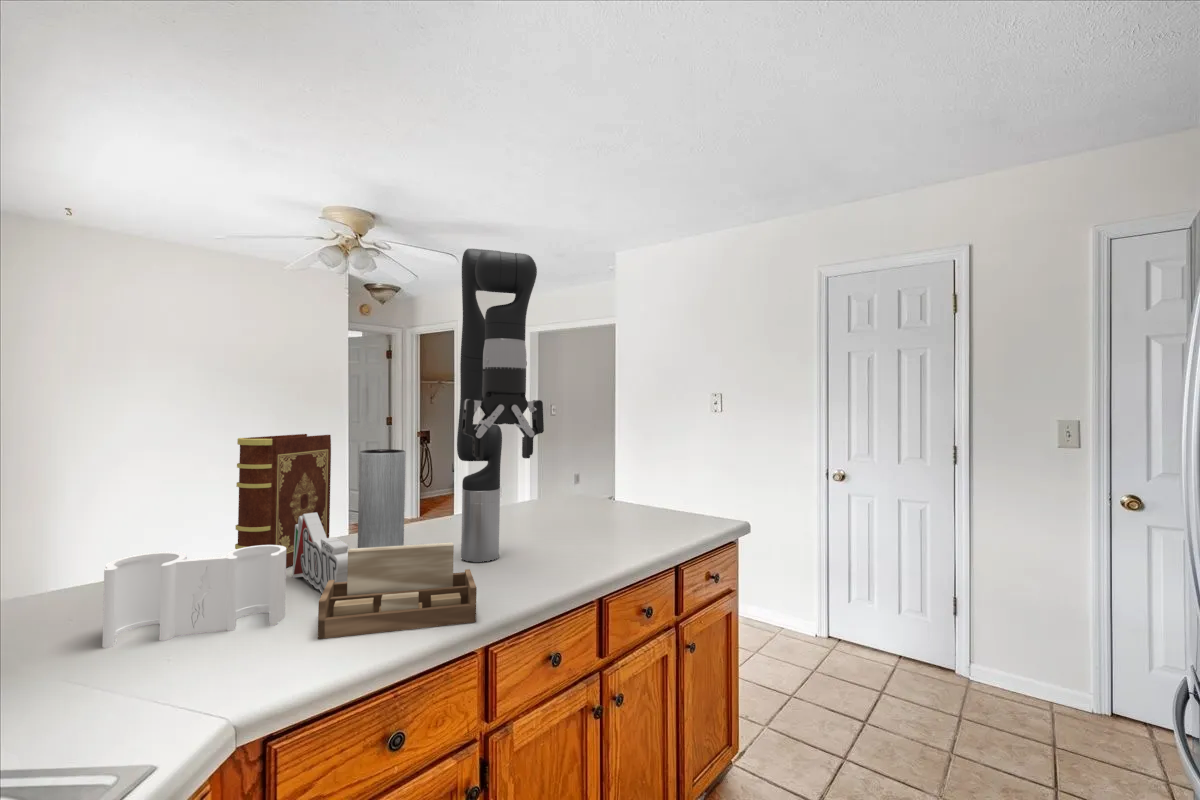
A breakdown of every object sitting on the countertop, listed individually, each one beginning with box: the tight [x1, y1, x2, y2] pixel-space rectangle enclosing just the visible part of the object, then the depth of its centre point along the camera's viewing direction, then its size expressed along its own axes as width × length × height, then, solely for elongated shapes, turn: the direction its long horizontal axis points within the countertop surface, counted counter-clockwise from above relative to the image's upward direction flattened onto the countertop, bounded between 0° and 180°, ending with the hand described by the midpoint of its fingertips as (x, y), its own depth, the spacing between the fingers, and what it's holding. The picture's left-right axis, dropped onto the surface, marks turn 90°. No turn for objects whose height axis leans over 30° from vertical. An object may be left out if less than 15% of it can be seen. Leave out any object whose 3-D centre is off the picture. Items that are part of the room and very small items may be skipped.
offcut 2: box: [431, 593, 461, 607], centre depth 99 cm, size 3×5×4 cm, turn 109°
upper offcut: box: [381, 592, 419, 611], centre depth 97 cm, size 3×6×2 cm, turn 107°
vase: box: [357, 448, 407, 548], centre depth 130 cm, size 10×10×27 cm
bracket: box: [101, 545, 287, 649], centre depth 94 cm, size 25×10×12 cm, turn 113°
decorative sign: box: [291, 512, 349, 594], centre depth 115 cm, size 23×3×15 cm, turn 47°
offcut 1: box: [333, 598, 374, 617], centre depth 94 cm, size 3×6×4 cm, turn 109°
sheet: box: [347, 542, 455, 596], centre depth 102 cm, size 2×18×12 cm, turn 109°
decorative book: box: [234, 433, 332, 568], centre depth 132 cm, size 22×8×30 cm, turn 168°
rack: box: [317, 568, 478, 640], centre depth 99 cm, size 12×25×6 cm, turn 109°
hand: (503, 459), depth 98 cm, fingers open, 8 cm apart
